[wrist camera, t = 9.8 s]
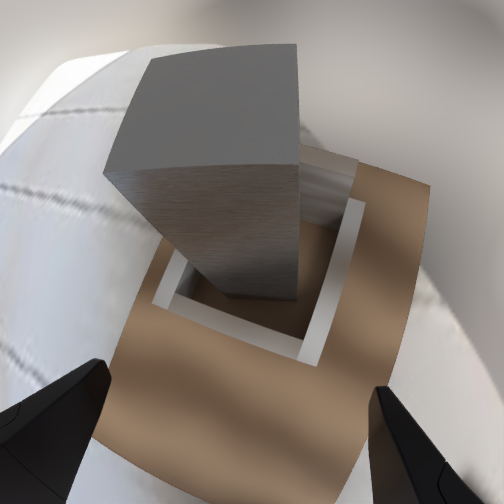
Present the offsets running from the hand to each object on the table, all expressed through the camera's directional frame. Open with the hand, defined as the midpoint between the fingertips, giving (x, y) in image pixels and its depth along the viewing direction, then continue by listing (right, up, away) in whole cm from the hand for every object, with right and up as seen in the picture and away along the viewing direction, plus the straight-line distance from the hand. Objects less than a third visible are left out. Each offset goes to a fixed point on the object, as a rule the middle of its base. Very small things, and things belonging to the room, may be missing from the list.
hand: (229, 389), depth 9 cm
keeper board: (+2, 0, +10) cm, 10 cm away
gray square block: (+1, +3, +9) cm, 10 cm away
